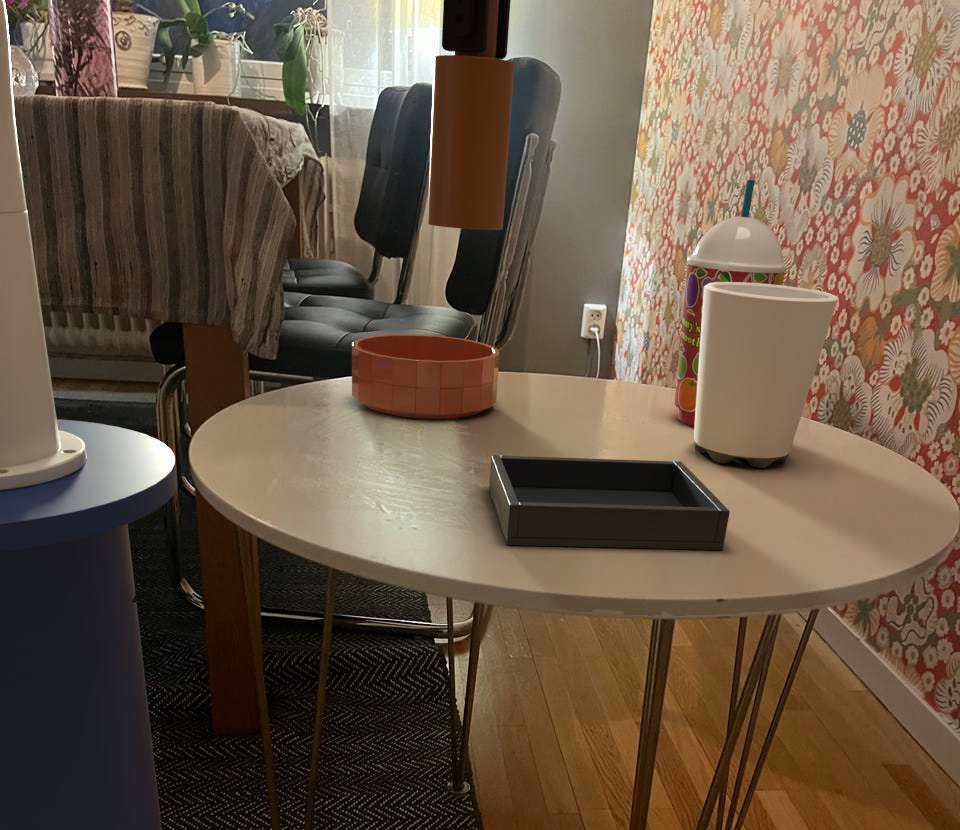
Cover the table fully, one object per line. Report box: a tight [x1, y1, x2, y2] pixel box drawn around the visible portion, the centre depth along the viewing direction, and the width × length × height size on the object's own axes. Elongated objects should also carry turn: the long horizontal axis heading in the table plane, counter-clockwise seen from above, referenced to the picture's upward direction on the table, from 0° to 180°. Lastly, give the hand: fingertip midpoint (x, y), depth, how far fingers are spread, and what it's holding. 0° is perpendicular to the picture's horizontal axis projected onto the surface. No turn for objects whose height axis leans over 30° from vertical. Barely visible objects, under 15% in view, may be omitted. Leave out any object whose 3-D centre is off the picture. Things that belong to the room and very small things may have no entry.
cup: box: [693, 282, 839, 469], centre depth 74 cm, size 10×10×13 cm
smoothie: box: [674, 179, 788, 427], centre depth 82 cm, size 8×8×20 cm
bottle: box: [427, 0, 515, 231], centre depth 70 cm, size 6×6×15 cm
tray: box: [488, 454, 731, 551], centre depth 60 cm, size 13×10×2 cm
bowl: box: [351, 333, 501, 420], centre depth 85 cm, size 13×13×5 cm
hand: (474, 51), depth 68 cm, fingers closed on bottle, 3 cm apart
